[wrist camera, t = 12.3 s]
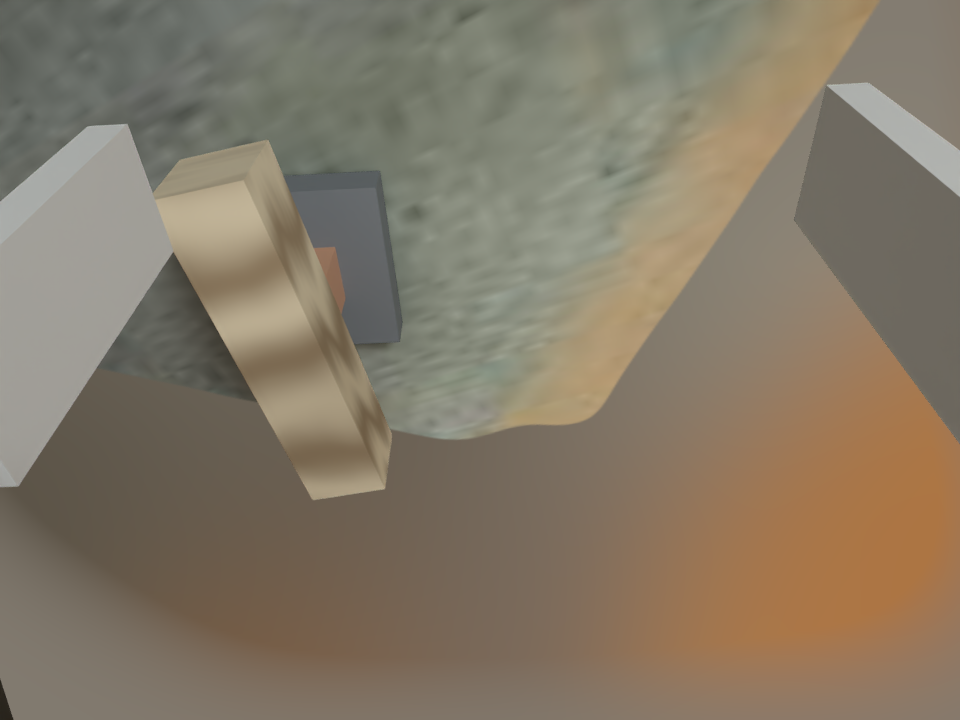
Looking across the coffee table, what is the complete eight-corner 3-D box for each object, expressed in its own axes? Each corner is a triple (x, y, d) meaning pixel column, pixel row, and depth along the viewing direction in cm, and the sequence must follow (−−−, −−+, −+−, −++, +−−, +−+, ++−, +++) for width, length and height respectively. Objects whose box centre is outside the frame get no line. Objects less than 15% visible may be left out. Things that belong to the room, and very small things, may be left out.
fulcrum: (227, 178, 47) (191, 234, 41) (379, 170, 46) (365, 225, 40) (270, 328, 54) (245, 393, 48) (402, 322, 54) (393, 387, 48)
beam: (392, 435, 51) (385, 488, 47) (325, 446, 51) (312, 500, 47) (268, 139, 37) (243, 180, 33) (179, 159, 38) (145, 202, 34)
